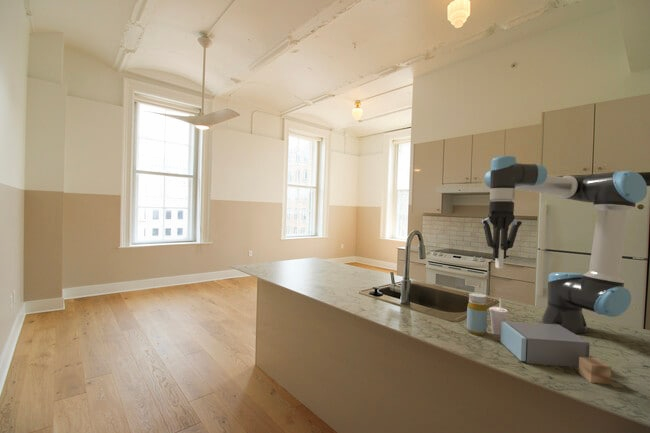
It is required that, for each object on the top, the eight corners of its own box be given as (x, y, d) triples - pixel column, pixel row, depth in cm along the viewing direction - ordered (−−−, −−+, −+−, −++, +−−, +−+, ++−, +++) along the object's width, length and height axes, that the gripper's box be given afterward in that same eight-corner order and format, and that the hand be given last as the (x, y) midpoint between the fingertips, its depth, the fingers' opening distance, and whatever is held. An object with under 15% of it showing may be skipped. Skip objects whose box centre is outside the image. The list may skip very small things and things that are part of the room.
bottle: (488, 336, 117) (490, 298, 117) (469, 334, 119) (470, 296, 118) (483, 329, 124) (484, 293, 124) (464, 327, 125) (466, 291, 125)
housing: (557, 346, 110) (558, 324, 110) (588, 367, 95) (589, 342, 95) (504, 342, 112) (505, 321, 112) (526, 363, 97) (527, 338, 97)
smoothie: (506, 338, 116) (508, 301, 116) (487, 334, 119) (489, 298, 119) (507, 332, 121) (508, 297, 121) (488, 329, 125) (490, 295, 124)
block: (596, 374, 91) (597, 358, 91) (610, 384, 86) (611, 366, 86) (578, 373, 92) (579, 356, 92) (590, 382, 87) (591, 365, 87)
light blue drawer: (552, 345, 110) (553, 325, 110) (581, 365, 96) (582, 342, 95) (500, 341, 112) (501, 321, 112) (520, 360, 98) (521, 338, 97)
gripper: (516, 201, 110) (513, 266, 110) (478, 200, 111) (475, 265, 112) (527, 201, 102) (524, 270, 103) (486, 200, 104) (483, 268, 104)
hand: (499, 267), depth 107 cm, fingers closed
